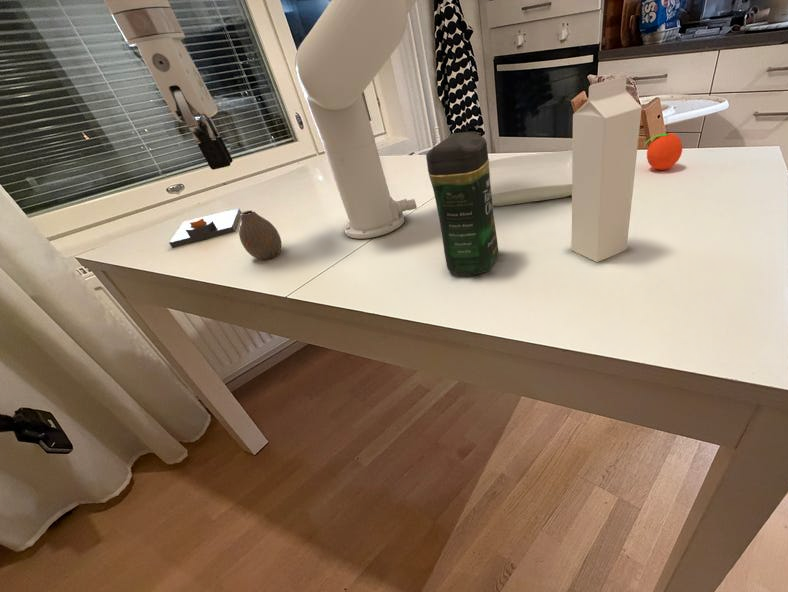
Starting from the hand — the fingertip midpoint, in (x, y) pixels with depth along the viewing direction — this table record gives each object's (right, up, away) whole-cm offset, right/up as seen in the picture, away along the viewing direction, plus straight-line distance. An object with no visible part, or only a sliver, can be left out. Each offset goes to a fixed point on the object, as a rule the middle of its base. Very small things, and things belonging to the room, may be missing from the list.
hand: (222, 164), depth 68 cm
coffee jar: (+44, -18, -4) cm, 48 cm away
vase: (+2, -13, +11) cm, 17 cm away
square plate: (+56, +5, +21) cm, 60 cm away
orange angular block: (-21, -2, +24) cm, 33 cm away
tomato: (+84, +8, +18) cm, 87 cm away
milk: (+64, -17, -7) cm, 66 cm away
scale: (-23, -1, +30) cm, 38 cm away
